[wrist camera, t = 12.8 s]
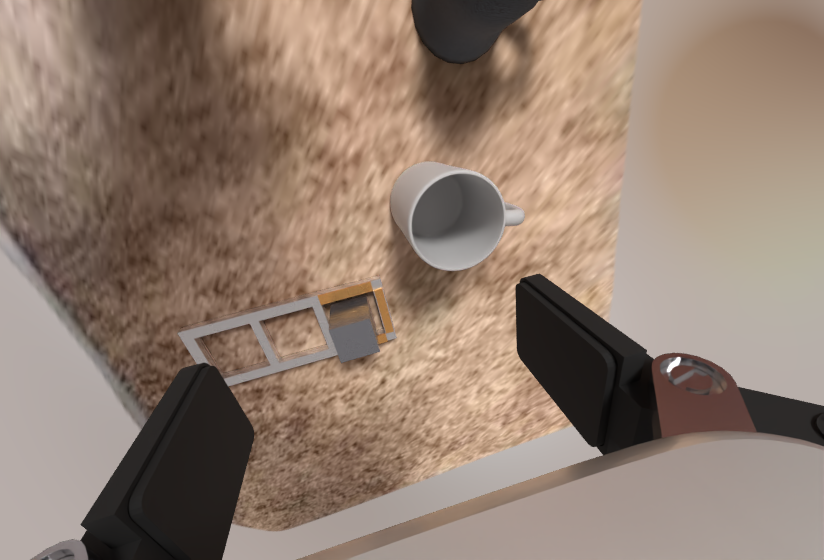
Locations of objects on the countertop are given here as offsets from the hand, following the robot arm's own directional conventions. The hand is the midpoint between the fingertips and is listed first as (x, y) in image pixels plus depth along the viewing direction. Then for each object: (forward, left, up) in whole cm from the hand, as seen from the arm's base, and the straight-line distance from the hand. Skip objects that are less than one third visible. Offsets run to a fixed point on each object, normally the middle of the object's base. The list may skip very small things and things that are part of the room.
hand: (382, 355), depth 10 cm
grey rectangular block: (+13, -4, -27) cm, 30 cm away
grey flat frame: (+13, -11, -27) cm, 32 cm away
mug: (+2, +9, -27) cm, 29 cm away
